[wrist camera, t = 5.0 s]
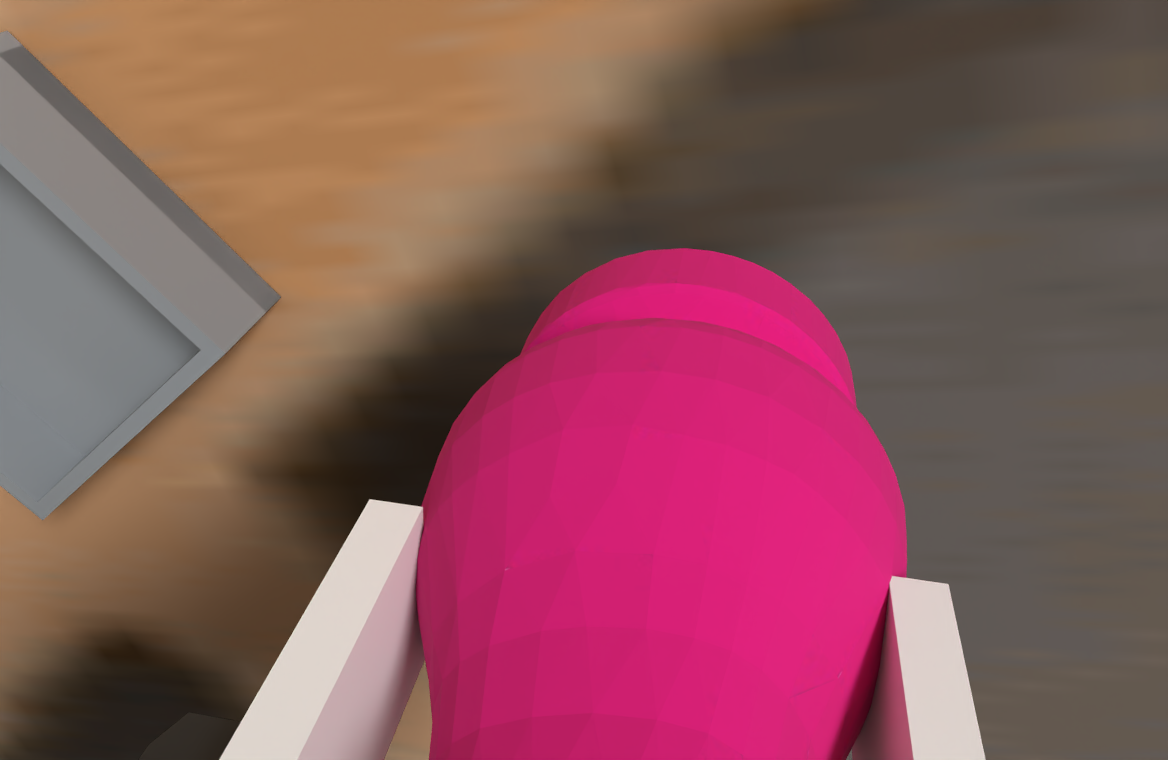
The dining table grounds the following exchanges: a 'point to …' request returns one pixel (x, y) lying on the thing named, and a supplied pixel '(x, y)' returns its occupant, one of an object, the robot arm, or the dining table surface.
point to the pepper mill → (660, 530)
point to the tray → (96, 289)
